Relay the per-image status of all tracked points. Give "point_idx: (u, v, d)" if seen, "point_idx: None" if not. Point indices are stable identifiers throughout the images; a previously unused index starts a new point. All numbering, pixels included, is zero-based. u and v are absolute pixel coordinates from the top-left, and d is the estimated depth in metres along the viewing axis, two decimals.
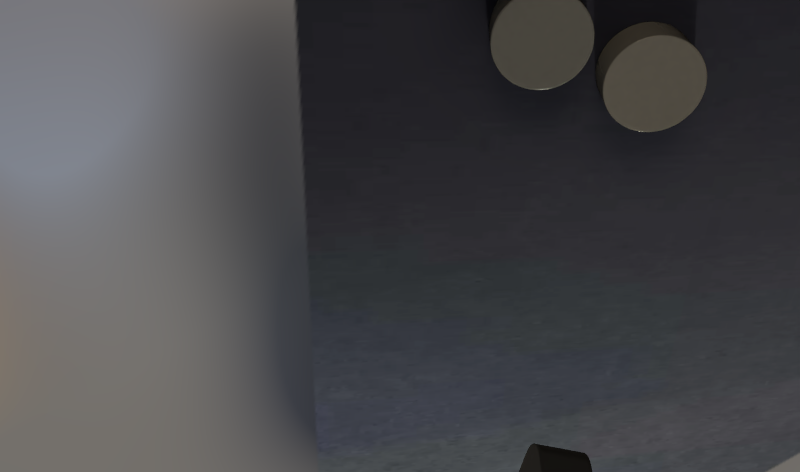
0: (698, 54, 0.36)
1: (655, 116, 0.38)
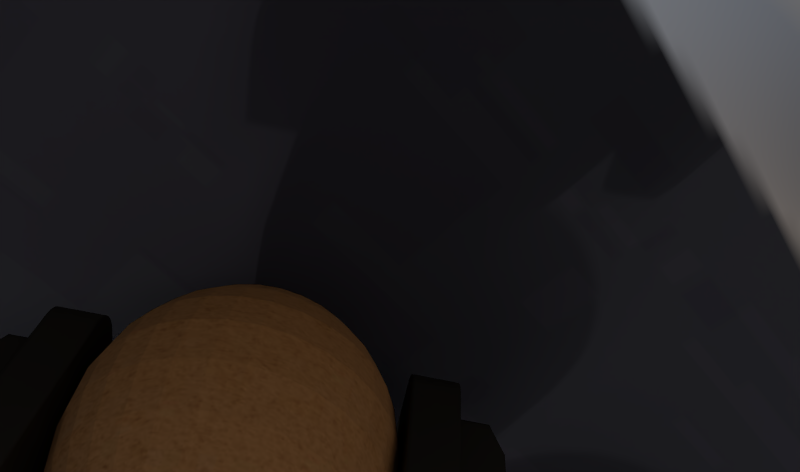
0: None
1: None
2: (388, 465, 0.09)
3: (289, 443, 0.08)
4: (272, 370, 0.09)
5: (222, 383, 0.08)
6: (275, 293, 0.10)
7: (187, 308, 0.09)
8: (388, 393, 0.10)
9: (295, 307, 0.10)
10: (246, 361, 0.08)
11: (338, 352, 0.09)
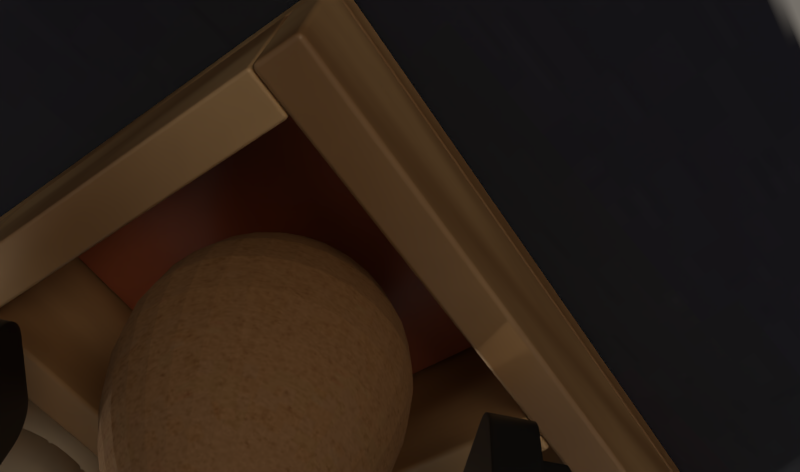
0: None
1: None
2: (404, 387, 0.10)
3: (320, 358, 0.09)
4: (304, 297, 0.10)
5: (262, 306, 0.09)
6: (303, 238, 0.11)
7: (228, 248, 0.11)
8: (403, 328, 0.11)
9: (321, 248, 0.11)
10: (281, 289, 0.10)
11: (361, 287, 0.11)
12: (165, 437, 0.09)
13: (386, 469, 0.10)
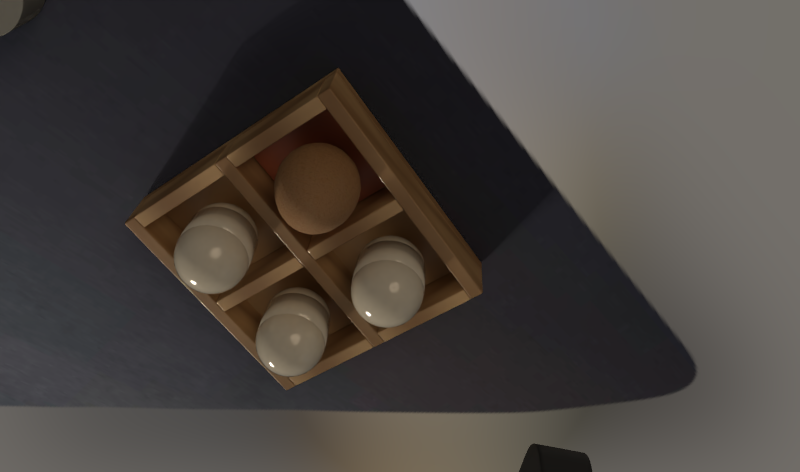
0: None
1: None
2: (357, 183, 0.38)
3: (334, 169, 0.37)
4: (330, 155, 0.37)
5: (319, 157, 0.37)
6: (328, 144, 0.39)
7: (308, 145, 0.38)
8: None
9: (334, 146, 0.38)
10: (324, 153, 0.37)
11: (345, 156, 0.38)
12: (298, 184, 0.36)
13: (352, 202, 0.37)
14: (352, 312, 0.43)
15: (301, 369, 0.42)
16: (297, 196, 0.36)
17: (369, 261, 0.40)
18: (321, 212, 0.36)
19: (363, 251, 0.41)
